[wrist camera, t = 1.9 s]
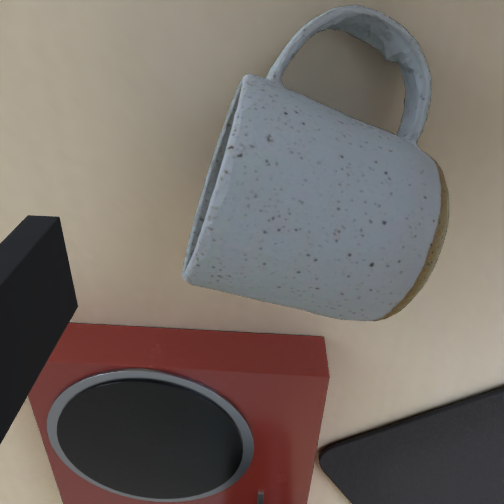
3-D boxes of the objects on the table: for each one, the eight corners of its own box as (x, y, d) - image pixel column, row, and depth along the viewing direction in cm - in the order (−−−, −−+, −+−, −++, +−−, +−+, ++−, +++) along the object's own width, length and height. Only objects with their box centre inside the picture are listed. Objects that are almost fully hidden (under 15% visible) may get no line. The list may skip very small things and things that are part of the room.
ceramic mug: (352, 265, 23) (384, 381, 16) (194, 217, 22) (161, 321, 15) (468, 48, 18) (585, 90, 11) (268, -31, 17) (266, -35, 10)
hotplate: (352, 337, 26) (362, 381, 23) (315, 524, 36) (318, 569, 33) (40, 320, 26) (13, 361, 23) (92, 510, 36) (78, 554, 34)
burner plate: (258, 374, 23) (258, 380, 23) (250, 503, 29) (250, 509, 29) (27, 361, 23) (23, 367, 23) (68, 492, 30) (65, 498, 29)
